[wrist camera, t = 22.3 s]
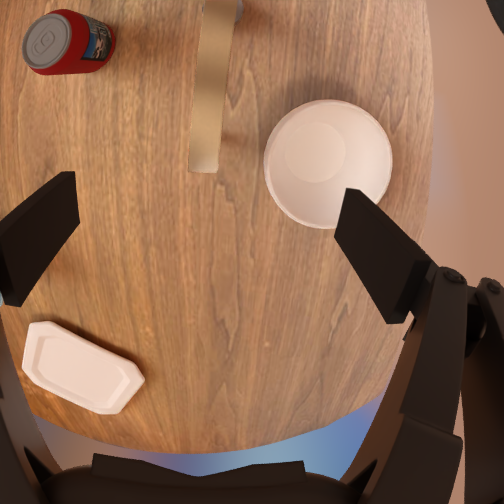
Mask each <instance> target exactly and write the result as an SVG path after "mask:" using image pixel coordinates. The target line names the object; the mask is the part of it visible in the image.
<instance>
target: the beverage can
mask: <svg viewBox="0 0 504 504" xmlns="http://www.w3.org/2000/svg"><path fill="white" fill-rule="evenodd" d="M114 48H115V36H114V33H113V31H112V29H111V28H110V27H109V26H108V25H106V24H104V23H102V22H100V21H98V20H95V19H93V18H90V17H88V16H85V15H83V14H80V13H77V12H74V11H71V10H67V9H59V10H55V11H52V12H50V13H48V14H46V15H44V16H42V17H40V18H39V19H37V20H36V21H35V22H34V23H33V24H32V25H31V26H30V27H29V29H28V30H27V32H26V34H25V36H24V39H23V42H22V55H23V58H24V60H25V62H26V63H27V64H28V65H29V67H30V68H31V69H32V70H33V71H34V72H36V73H38V74H41V75H62V74H80V73H90V72H94V71H96V70H98V69H100V68H101V67H103V66H104V65H105V64H106V63H107V62H108V61H109V59H110V58H111V56H112V54H113V51H114Z"/></svg>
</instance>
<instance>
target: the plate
mask: <svg viewBox="0 0 504 504" xmlns="http://www.w3.org/2000/svg"><path fill="white" fill-rule="evenodd" d="M22 369H23V371H24V372H25V373H26V374H27V375H28V377H29V378H30V379H31V380H32V381H33V382H34V383H35V384H36V385H38V386H40V387H42V388H44V389H46V390H48V391H50V392H52V393H54V394H56V395H58V396H60V397H62V398H64V399H66V400H68V401H70V402H73V403H75V404H77V405H79V406H82V407H84V408H86V409H88V410H91V411H93V412H96V413H98V414H118V413H119V412H120V411H121V410H122V409H123V407H124V406H125V405H126V404H127V403H128V401H129V400H130V399H131V398H132V397H133V395H134V394H135V393H136V392H137V391H138V389H139V388H140V387H141V386H142V384H143V383H144V382H145V378H144V377H143V375H142V373H141V372H140V370H139V369H138V367H137V365H136V364H135V363H134V362H132V361H130V360H128V359H125V358H123V357H121V356H119V355H117V354H114V353H112V352H110V351H108V350H106V349H104V348H102V347H100V346H98V345H96V344H94V343H92V342H90V341H88V340H86V339H84V338H82V337H80V336H78V335H76V334H74V333H72V332H70V331H68V330H66V329H65V328H63V327H61V326H59V325H57V324H56V323H54V322H51V321H43V322H33V323H31V324H30V325H29V329H28V334H27V339H26V345H25V350H24V356H23V363H22Z"/></svg>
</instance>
